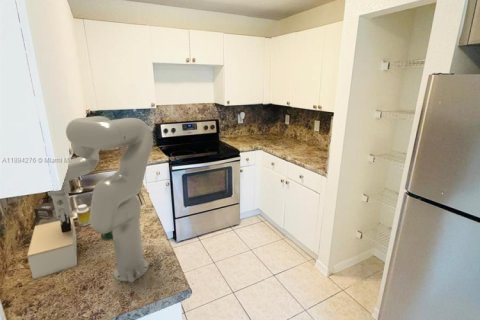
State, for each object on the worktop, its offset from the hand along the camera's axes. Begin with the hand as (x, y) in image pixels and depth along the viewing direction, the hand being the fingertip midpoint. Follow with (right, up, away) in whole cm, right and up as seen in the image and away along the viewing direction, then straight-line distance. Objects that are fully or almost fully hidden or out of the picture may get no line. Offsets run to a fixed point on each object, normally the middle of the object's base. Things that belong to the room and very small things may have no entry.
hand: (66, 228), depth 109 cm
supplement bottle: (-8, -4, +26) cm, 27 cm away
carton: (-4, -12, +1) cm, 12 cm away
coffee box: (-16, -8, +14) cm, 22 cm away
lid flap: (-4, -2, -2) cm, 5 cm away
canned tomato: (+11, -8, +15) cm, 20 cm away
